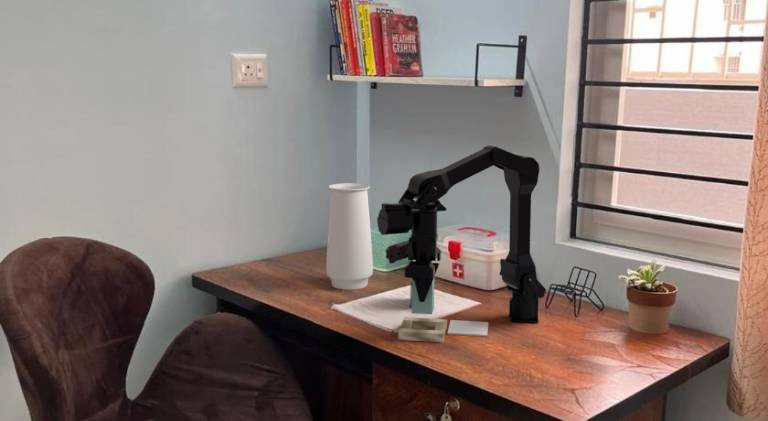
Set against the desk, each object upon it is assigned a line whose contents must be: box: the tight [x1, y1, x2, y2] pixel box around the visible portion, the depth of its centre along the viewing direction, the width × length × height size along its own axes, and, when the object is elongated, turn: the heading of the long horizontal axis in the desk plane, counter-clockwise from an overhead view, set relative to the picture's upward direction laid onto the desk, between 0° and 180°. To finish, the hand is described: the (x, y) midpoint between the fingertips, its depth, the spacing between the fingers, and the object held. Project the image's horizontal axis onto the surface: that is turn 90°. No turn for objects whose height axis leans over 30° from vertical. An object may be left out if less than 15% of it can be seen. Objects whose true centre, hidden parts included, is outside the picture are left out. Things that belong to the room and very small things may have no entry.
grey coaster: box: [446, 319, 489, 338], centre depth 175 cm, size 9×9×1 cm
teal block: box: [411, 278, 435, 315], centre depth 170 cm, size 4×4×8 cm
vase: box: [325, 182, 374, 291], centre depth 209 cm, size 13×13×28 cm
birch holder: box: [397, 316, 448, 344], centre depth 172 cm, size 10×10×2 cm
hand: (423, 298), depth 171 cm, fingers closed on teal block, 4 cm apart
